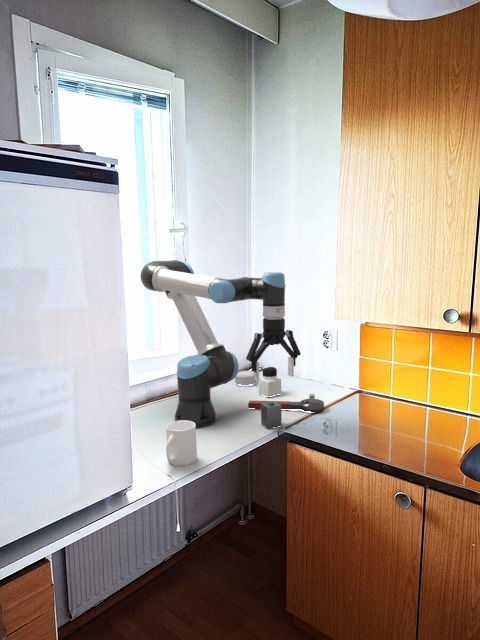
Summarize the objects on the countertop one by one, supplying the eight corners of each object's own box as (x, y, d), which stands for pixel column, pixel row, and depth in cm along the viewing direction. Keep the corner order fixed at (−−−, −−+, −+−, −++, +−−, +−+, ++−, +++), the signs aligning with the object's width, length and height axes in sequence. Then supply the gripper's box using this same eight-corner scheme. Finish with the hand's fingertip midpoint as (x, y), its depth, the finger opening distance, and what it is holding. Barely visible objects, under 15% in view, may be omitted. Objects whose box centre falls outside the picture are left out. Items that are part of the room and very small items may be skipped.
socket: (267, 429, 160) (267, 406, 159) (261, 424, 165) (260, 402, 164) (281, 426, 162) (281, 404, 161) (275, 421, 167) (274, 400, 166)
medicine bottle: (281, 395, 198) (281, 367, 197) (268, 398, 194) (268, 370, 193) (271, 391, 204) (271, 364, 203) (258, 394, 200) (257, 367, 199)
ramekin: (239, 380, 224) (239, 369, 224) (261, 382, 220) (260, 371, 219) (229, 386, 214) (229, 375, 213) (252, 388, 210) (252, 377, 209)
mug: (154, 468, 133) (152, 432, 131) (178, 452, 143) (176, 418, 142) (180, 473, 129) (178, 437, 127) (202, 456, 140) (201, 422, 138)
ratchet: (247, 411, 178) (247, 396, 178) (250, 404, 187) (250, 390, 186) (324, 414, 174) (324, 398, 173) (323, 406, 182) (323, 391, 182)
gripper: (245, 321, 151) (246, 385, 154) (310, 316, 161) (310, 376, 164) (236, 318, 158) (236, 379, 161) (299, 314, 168) (298, 371, 171)
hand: (273, 378), depth 162 cm, fingers open, 13 cm apart
